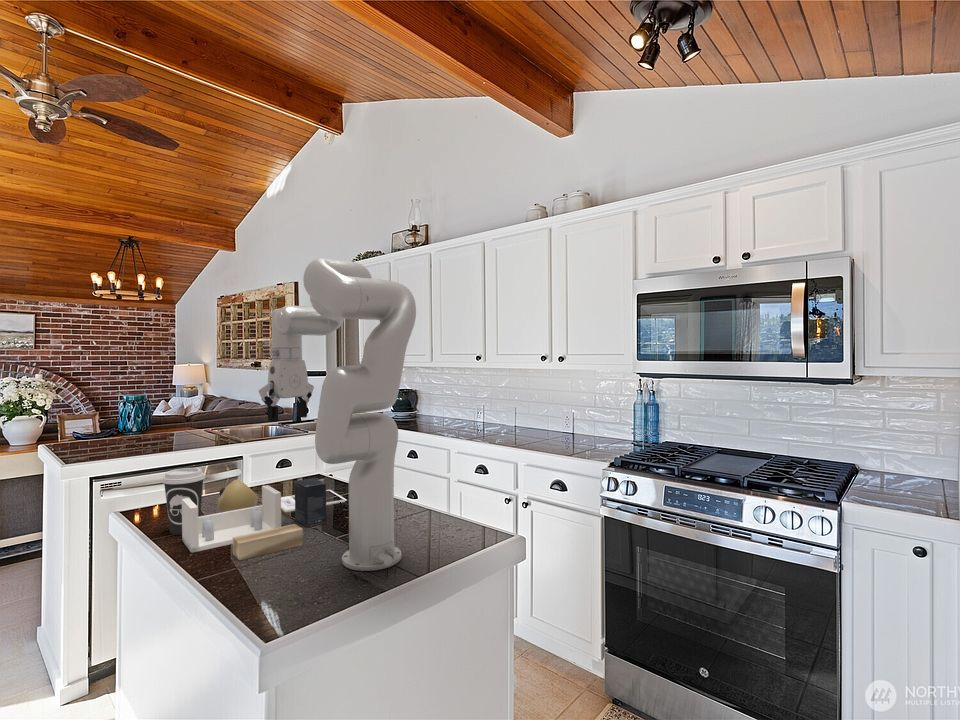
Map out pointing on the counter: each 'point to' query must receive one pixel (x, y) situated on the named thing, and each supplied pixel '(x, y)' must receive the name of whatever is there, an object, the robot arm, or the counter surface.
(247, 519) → the peg frame
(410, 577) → the counter surface
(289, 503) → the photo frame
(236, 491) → the tan rounded triangle
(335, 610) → the counter surface
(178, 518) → the coffee cup
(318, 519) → the box
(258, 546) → the oak board
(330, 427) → the robot arm
